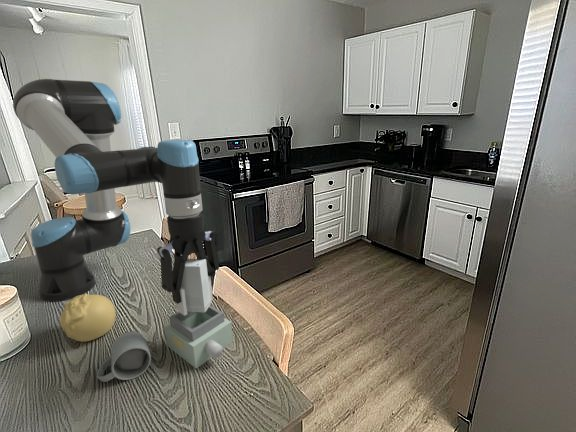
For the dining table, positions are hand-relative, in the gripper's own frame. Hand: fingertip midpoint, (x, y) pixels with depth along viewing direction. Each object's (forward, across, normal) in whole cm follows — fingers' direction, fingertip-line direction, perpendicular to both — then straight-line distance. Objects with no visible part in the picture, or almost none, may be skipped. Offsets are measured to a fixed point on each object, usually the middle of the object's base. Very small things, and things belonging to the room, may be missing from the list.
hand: (195, 305), depth 73 cm
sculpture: (+11, -15, +26) cm, 32 cm away
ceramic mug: (+11, -15, +6) cm, 20 cm away
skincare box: (+1, 0, 0) cm, 1 cm away
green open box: (+11, 0, -1) cm, 11 cm away
